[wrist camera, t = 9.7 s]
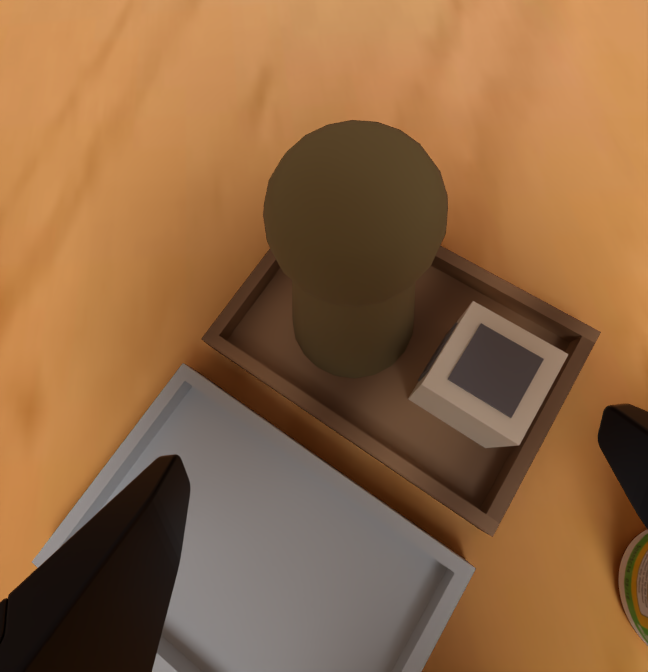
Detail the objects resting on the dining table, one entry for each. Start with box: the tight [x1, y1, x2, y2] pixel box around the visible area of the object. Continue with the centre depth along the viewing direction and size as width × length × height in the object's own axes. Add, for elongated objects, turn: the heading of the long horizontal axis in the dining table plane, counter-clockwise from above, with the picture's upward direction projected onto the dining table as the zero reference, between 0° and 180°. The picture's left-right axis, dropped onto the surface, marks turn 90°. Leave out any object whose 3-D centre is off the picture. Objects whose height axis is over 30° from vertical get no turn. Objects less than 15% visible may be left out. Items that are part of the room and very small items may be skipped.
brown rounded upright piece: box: [263, 120, 448, 378], centre depth 16 cm, size 6×6×11 cm
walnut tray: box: [202, 246, 601, 537], centre depth 20 cm, size 15×10×2 cm
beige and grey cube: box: [408, 301, 568, 448], centre depth 18 cm, size 4×4×4 cm
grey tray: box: [32, 363, 476, 672], centre depth 18 cm, size 15×10×2 cm
